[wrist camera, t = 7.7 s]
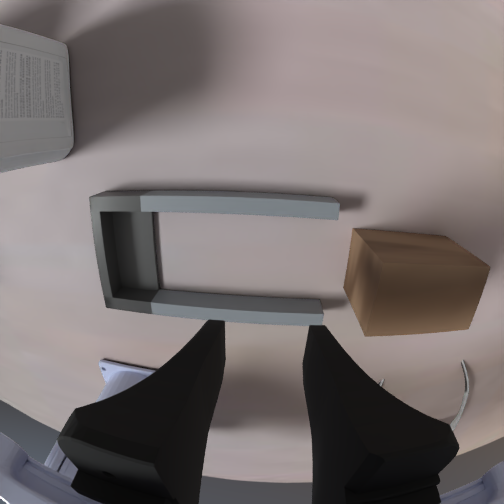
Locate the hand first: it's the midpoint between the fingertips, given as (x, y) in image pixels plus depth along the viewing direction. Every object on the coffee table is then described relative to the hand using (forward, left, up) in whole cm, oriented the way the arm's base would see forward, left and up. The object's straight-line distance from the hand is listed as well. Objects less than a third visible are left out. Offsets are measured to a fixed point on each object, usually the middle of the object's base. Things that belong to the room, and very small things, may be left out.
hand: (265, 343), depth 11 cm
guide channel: (0, +4, -9) cm, 10 cm away
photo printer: (+12, +17, -10) cm, 23 cm away
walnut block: (0, -10, -10) cm, 14 cm away
